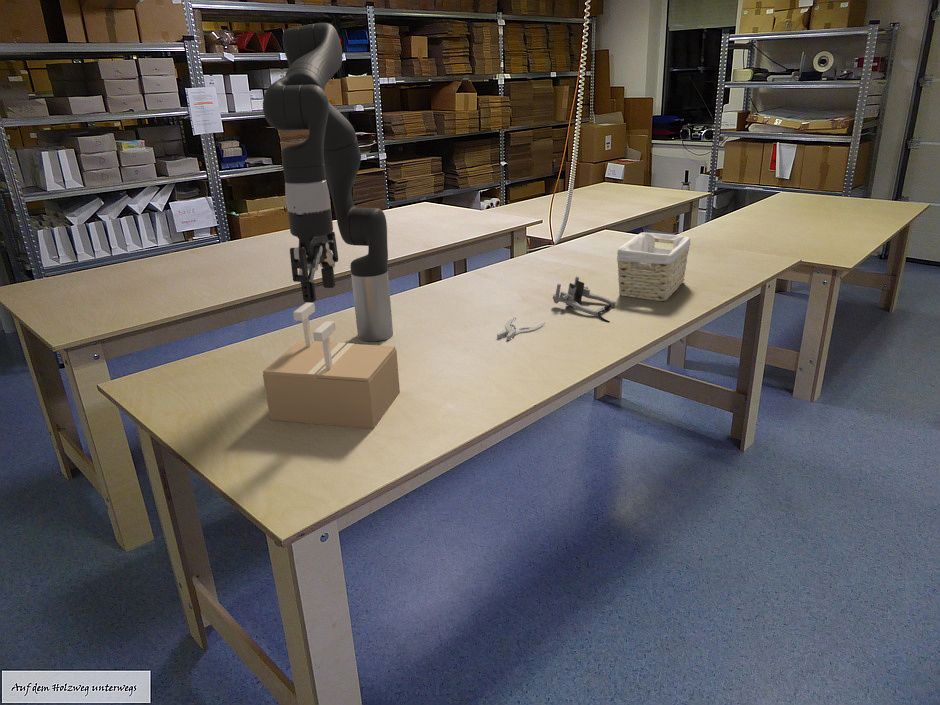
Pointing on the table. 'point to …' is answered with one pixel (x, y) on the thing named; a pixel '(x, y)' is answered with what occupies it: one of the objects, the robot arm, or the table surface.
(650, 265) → the storage basket
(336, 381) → the carton
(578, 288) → the bike brake
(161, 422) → the table surface
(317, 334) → the right flap
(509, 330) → the pliers
